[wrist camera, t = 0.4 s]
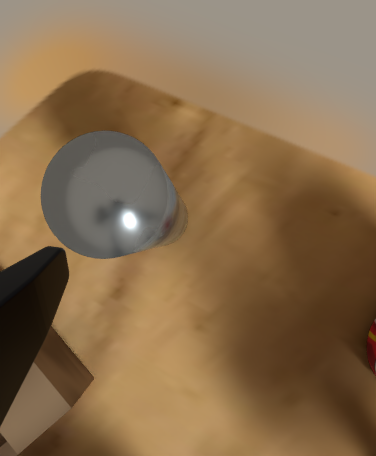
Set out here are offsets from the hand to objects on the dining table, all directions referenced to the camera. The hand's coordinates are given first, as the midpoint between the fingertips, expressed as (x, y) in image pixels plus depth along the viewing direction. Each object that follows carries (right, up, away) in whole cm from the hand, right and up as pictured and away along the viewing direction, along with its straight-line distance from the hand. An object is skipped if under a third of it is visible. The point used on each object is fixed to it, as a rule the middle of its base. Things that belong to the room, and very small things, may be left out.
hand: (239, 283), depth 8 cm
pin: (-3, +2, +15) cm, 16 cm away
